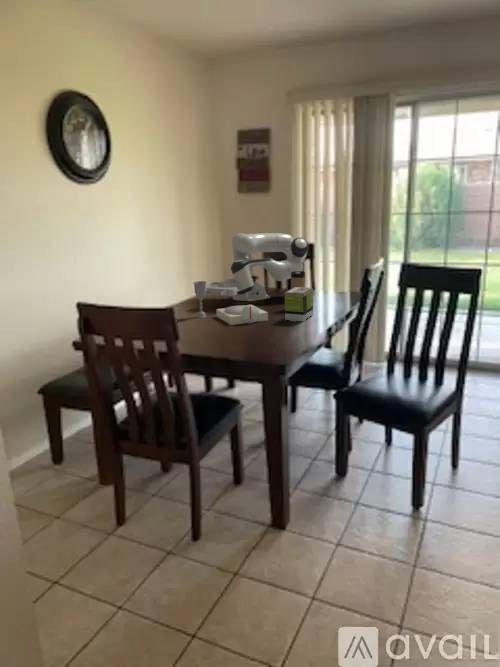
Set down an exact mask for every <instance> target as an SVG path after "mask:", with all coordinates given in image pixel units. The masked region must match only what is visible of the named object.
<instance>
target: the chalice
mask: <svg viewBox="0 0 500 667" xmlns="http://www.w3.org/2000/svg"><path fill="white" fill-rule="evenodd" d="M206 285H207V281H205V280H198V281H194V282H193V286H194V288H193V289H194V294H195V296H196V298H197V300H198V301H199V311H198V313H197V315H196V318H198V319H199V318H200V319H202V318H206V317H207V315H206V313H205V312H204V311H203V302H202V301H203V300H204V298H205V296H206V294H205V293H206Z"/></svg>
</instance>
